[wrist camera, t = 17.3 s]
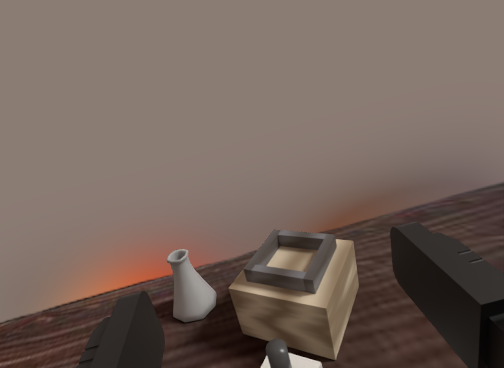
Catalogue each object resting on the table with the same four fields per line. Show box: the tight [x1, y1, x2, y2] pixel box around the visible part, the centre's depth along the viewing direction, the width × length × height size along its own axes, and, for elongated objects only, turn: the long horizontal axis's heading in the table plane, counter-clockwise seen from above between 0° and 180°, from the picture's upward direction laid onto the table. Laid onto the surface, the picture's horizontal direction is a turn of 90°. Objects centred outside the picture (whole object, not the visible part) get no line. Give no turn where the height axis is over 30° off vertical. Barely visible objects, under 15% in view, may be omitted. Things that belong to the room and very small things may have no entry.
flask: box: [167, 249, 217, 322], centre depth 50 cm, size 7×7×10 cm
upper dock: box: [228, 230, 359, 360], centre depth 44 cm, size 13×13×10 cm
